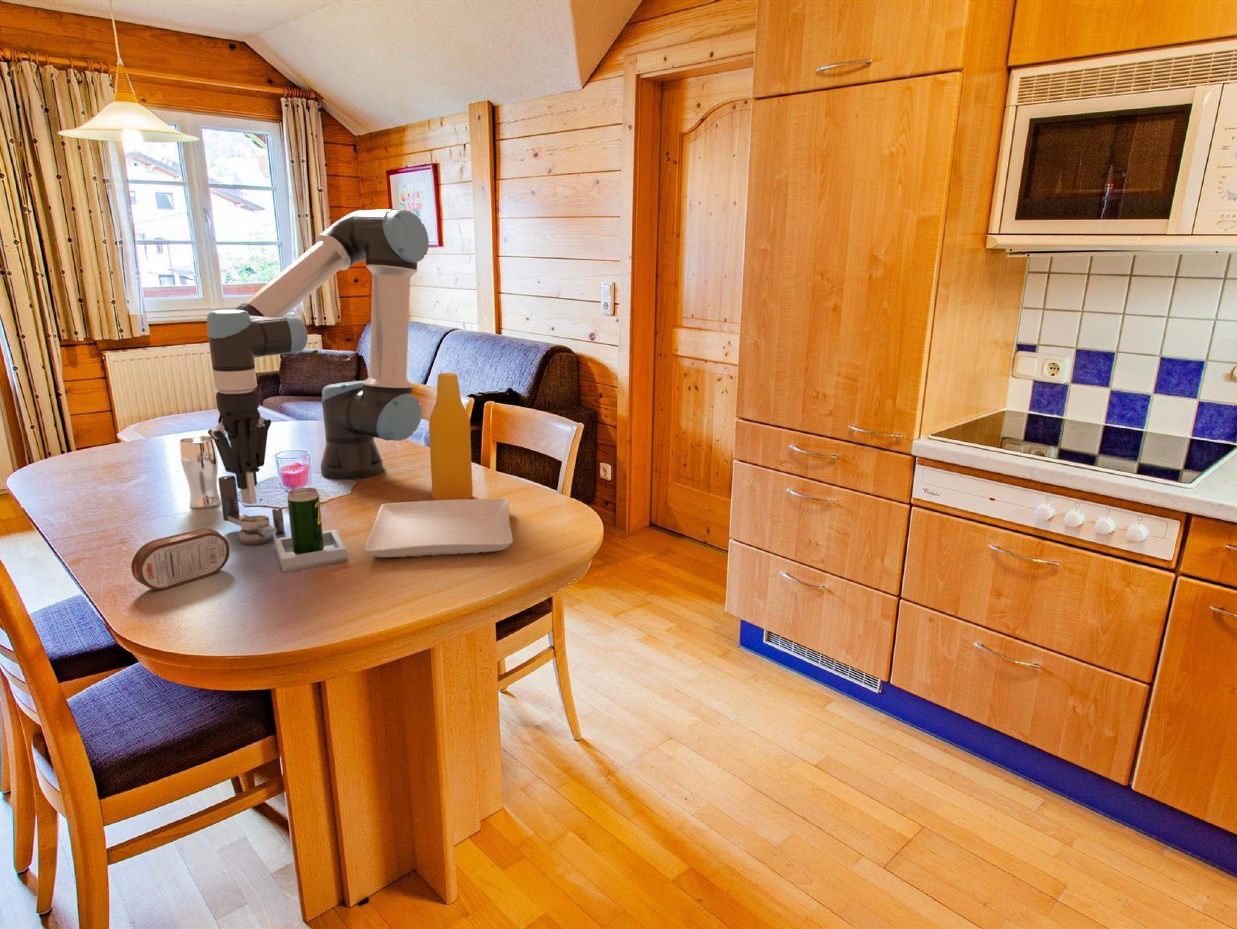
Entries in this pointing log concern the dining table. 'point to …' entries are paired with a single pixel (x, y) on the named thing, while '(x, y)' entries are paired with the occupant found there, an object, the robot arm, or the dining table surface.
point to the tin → (180, 558)
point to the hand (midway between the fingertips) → (249, 502)
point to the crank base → (260, 539)
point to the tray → (330, 553)
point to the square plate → (440, 528)
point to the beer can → (305, 520)
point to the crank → (232, 510)
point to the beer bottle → (450, 443)
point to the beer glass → (200, 470)
